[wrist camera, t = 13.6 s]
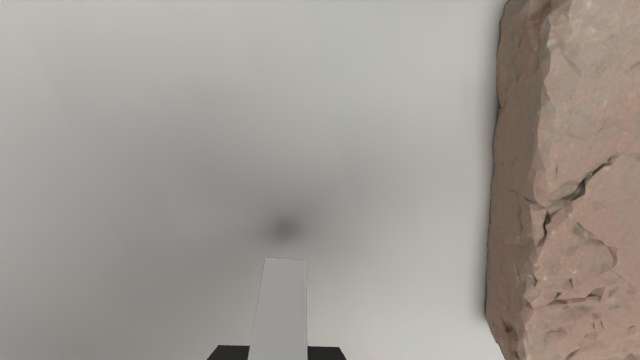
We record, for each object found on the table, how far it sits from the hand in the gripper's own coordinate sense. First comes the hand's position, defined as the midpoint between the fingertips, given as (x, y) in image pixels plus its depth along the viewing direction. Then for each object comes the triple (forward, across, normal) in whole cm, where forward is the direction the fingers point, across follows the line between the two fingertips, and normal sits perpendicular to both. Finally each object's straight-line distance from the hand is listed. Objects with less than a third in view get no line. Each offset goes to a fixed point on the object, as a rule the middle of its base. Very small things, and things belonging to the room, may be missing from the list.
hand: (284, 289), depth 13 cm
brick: (+4, +13, +4) cm, 14 cm away
